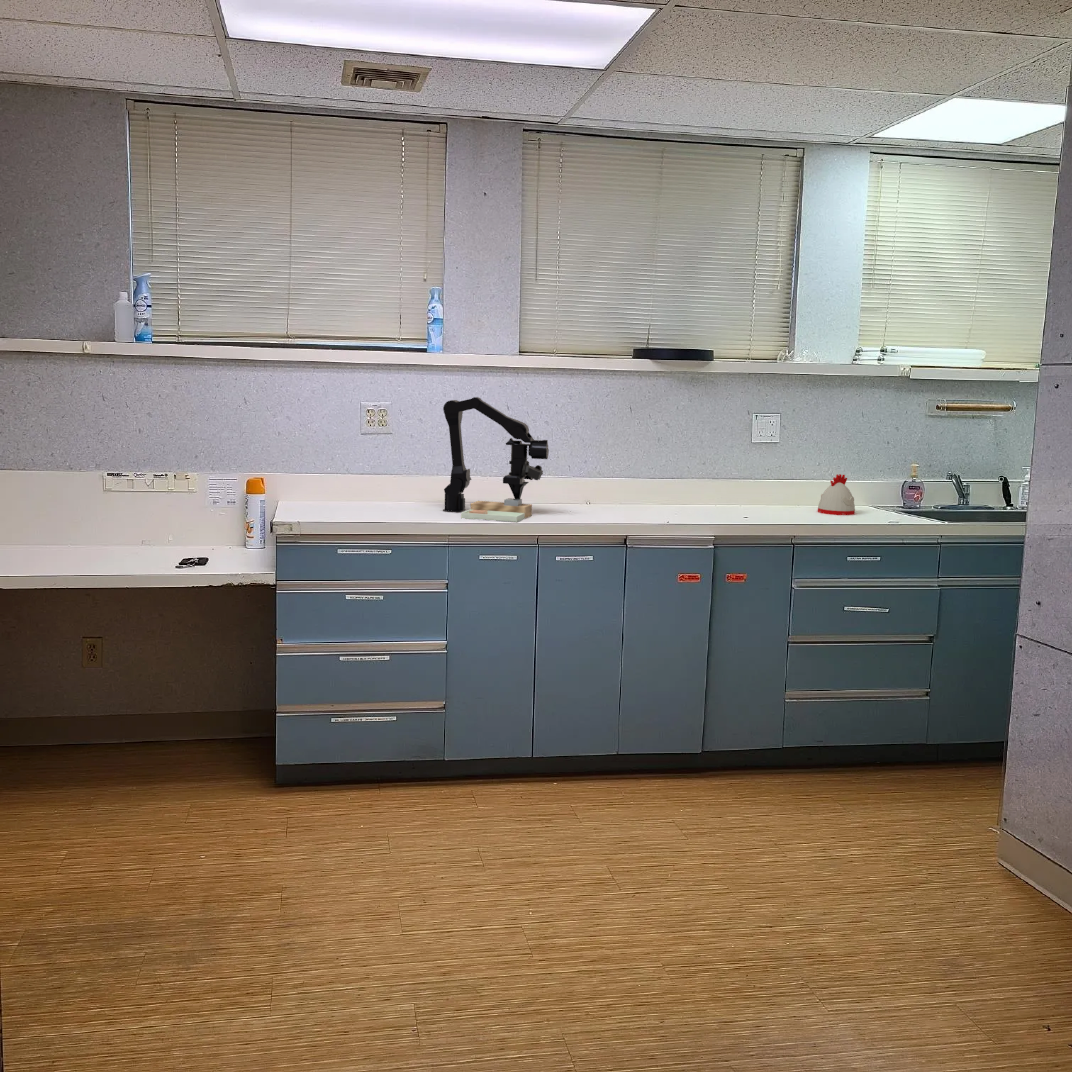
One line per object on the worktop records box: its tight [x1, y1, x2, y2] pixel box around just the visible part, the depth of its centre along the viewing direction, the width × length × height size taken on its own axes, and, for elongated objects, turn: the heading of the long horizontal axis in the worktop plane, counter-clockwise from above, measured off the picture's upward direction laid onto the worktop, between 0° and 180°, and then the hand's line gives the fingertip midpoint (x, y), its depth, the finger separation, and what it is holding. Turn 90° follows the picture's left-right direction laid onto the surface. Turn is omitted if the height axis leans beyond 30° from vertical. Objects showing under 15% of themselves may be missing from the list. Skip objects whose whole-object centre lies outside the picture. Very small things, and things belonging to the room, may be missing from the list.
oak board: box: [470, 500, 533, 519], centre depth 380 cm, size 20×8×4 cm, turn 74°
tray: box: [460, 508, 526, 523], centre depth 371 cm, size 20×10×2 cm, turn 75°
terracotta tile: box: [469, 510, 488, 514], centre depth 372 cm, size 5×5×2 cm
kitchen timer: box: [817, 474, 856, 516], centre depth 416 cm, size 14×14×15 cm
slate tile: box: [503, 497, 523, 506], centre depth 378 cm, size 5×5×2 cm
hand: (517, 501), depth 383 cm, fingers closed
